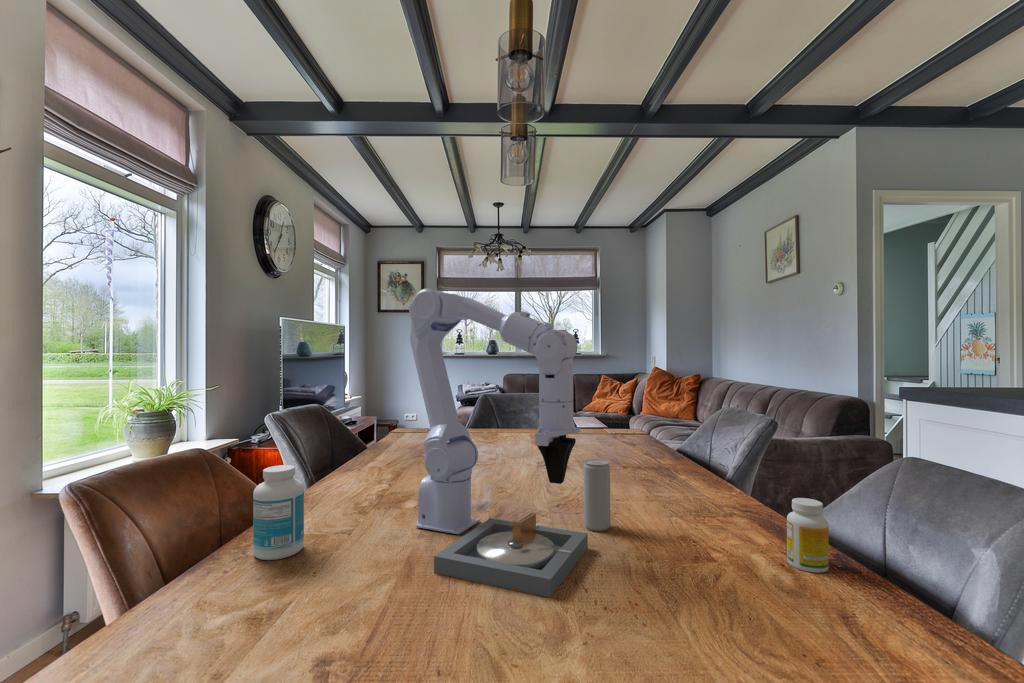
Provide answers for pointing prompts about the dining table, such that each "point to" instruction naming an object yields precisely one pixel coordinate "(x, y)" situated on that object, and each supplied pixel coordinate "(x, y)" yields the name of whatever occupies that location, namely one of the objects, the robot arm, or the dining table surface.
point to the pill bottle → (278, 514)
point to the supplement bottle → (807, 536)
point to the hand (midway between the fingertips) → (556, 482)
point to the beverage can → (596, 494)
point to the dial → (518, 545)
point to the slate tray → (539, 581)
